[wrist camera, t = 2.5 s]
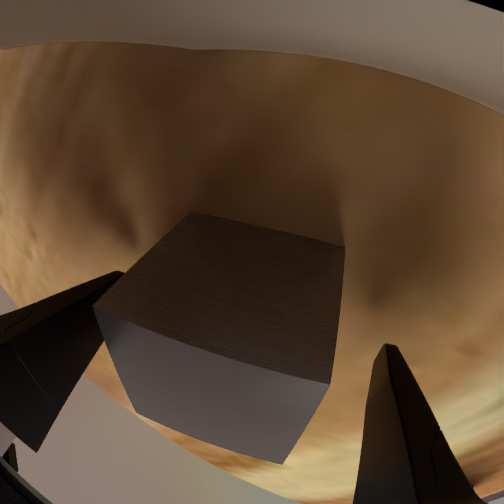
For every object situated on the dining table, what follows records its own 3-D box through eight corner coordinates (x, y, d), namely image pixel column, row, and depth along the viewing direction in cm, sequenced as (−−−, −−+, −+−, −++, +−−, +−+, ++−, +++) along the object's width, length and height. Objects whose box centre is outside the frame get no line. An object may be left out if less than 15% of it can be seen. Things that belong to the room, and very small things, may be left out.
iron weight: (345, 245, 9) (330, 384, 5) (311, 351, 12) (282, 464, 7) (192, 211, 10) (92, 305, 6) (195, 318, 13) (136, 412, 8)
